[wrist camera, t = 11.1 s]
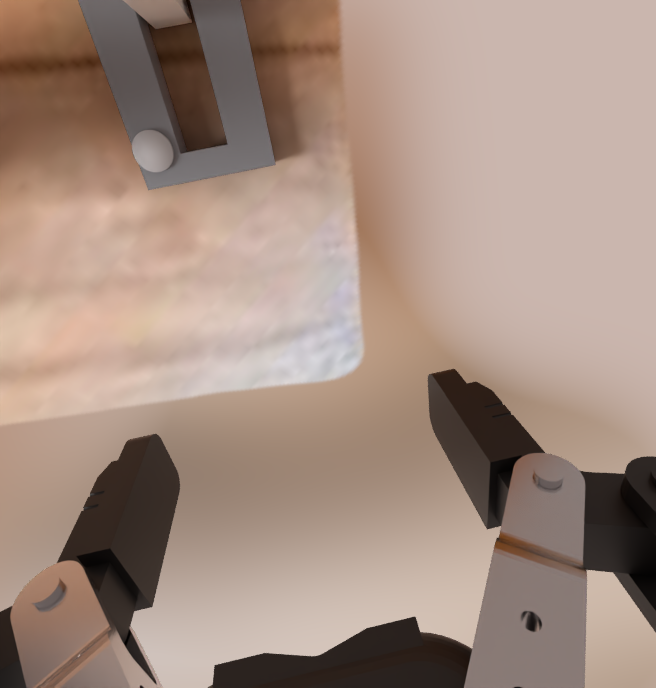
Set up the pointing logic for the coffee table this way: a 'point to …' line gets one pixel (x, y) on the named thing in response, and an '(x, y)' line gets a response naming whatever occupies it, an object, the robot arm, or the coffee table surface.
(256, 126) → the console
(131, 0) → the fader tab
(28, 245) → the coffee table surface
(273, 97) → the coffee table surface
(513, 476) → the robot arm
